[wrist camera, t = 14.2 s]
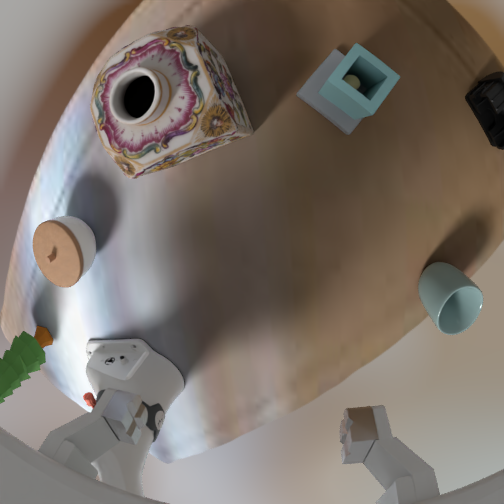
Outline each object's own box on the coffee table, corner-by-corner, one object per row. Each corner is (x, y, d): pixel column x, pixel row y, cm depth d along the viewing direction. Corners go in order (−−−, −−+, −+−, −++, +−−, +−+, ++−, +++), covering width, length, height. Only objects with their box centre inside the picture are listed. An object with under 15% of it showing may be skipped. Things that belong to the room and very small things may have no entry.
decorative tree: (63, 349, 56) (-6, 435, 28) (46, 353, 58) (-17, 429, 30) (40, 315, 53) (-40, 396, 25) (25, 322, 55) (-47, 394, 27)
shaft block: (346, 134, 34) (359, 133, 27) (296, 95, 33) (298, 85, 26) (381, 91, 31) (400, 83, 24) (332, 52, 30) (342, 35, 23)
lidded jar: (62, 200, 42) (25, 216, 33) (110, 218, 42) (74, 238, 33) (60, 255, 46) (27, 277, 37) (104, 276, 46) (74, 303, 37)
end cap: (514, 128, 28) (540, 130, 22) (493, 150, 31) (520, 155, 24) (484, 74, 26) (509, 68, 20) (461, 94, 29) (487, 90, 22)
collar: (354, 119, 31) (373, 114, 24) (318, 92, 30) (327, 80, 23) (377, 88, 29) (400, 76, 22) (341, 61, 29) (356, 42, 21)
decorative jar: (256, 135, 35) (230, 131, 19) (176, 167, 38) (100, 193, 21) (224, 55, 32) (176, 0, 15) (147, 92, 34) (61, 74, 18)
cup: (422, 249, 38) (453, 280, 29) (459, 260, 38) (491, 289, 29) (404, 295, 41) (427, 333, 32) (441, 302, 41) (466, 337, 32)
